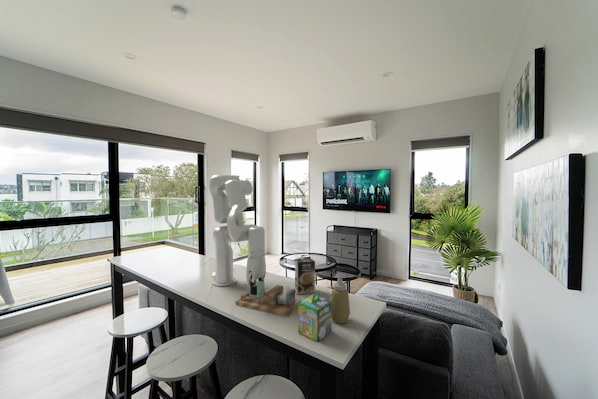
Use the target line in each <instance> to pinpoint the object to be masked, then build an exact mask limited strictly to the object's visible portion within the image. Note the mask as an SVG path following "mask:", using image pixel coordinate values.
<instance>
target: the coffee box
mask: <svg viewBox="0 0 598 399" xmlns="http://www.w3.org/2000/svg"><path fill="white" fill-rule="evenodd" d="M294 264H295V266H294V289H295V293H296V294H297V295H306V294H316V293H315V292H316V289H315V288H316V285H315V284H316V261H315V260H314V259H313V258H301V259H300V258H298V259H295V260H294Z"/></svg>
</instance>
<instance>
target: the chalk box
mask: <svg viewBox="0 0 598 399" xmlns="http://www.w3.org/2000/svg"><path fill="white" fill-rule="evenodd" d="M321 294H322V291H321V290H320V291H318V292H316V293H311V295H309V296H307V297H306V298H304V299H303V300H301V302H299V303H298V306H297V309H298V310H297V311H298V317H297V318H298V322H297V323H298V326H297V328H298V330H297V332H298V333H299V334H301V335H303V336H305V337H306V338H308V339H311V340H312V341H315V342H318V343H319V342H320V341H321V340H322V339H323V338H325V337H326V336H327V335H328V334H330V333H331V332H332V322H333V320H332V301H331V299H330V300H329V299H327V298H324V297H321Z"/></svg>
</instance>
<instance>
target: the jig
mask: <svg viewBox="0 0 598 399" xmlns="http://www.w3.org/2000/svg"><path fill="white" fill-rule="evenodd" d="M278 292H281V293H284V285H280V284H279V285H278V284H277V285H274V286H273V287H272V288H270V289H269V290H268V291H264V297H263V298H262V299H256V298H251V297H249V290H248V291H247V292H245V293H244V294H242V295H240V298H239V299H237V300H236V301H235V305H236V306H239V307H243V308H248V309H252V310H256V311H257V310H258V311H262V312H266V313H269V314H270V313H271V314H275V315H278V316H283V317H288V316H289V315H290V314H291V313H292V312H294V310H296V308H298V303H299V302H301V301H302V300H301V298H300V299H299V298H295V302H294V303H293V304H292V305H291V306H290V307H286V305H283V304H279V303H276V294H277V293H278Z"/></svg>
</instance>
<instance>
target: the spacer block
mask: <svg viewBox="0 0 598 399" xmlns="http://www.w3.org/2000/svg"><path fill="white" fill-rule="evenodd" d="M252 282H253V283H254V281H252ZM248 286H249V285H248ZM256 286H257V295H251V294H250V286H249V290H248V291H249V297H251V298H256V299H262V298H263V297H264V292H265V281H264V282H262V281H258V280H257V281H256Z"/></svg>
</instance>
